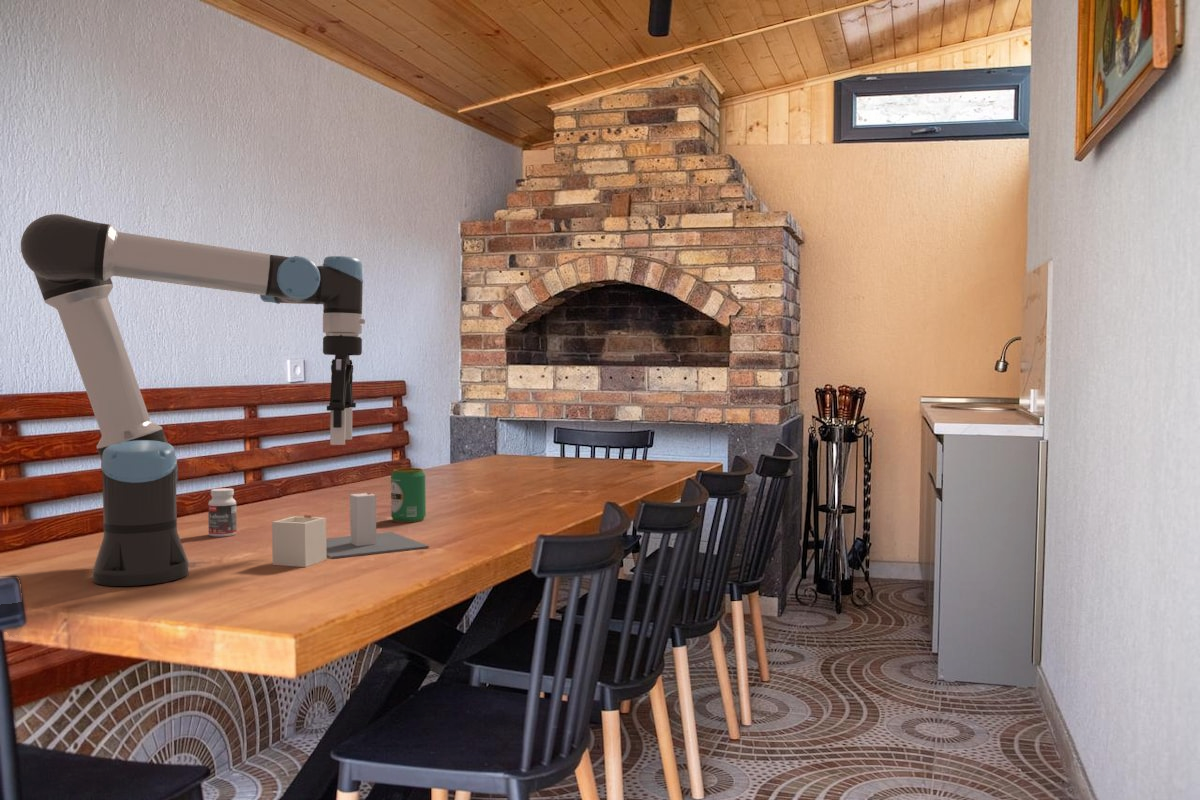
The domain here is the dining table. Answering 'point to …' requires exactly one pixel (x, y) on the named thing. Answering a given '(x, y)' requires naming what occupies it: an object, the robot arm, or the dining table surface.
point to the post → (367, 533)
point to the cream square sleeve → (299, 541)
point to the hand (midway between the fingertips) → (341, 442)
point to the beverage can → (408, 495)
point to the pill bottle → (222, 513)
